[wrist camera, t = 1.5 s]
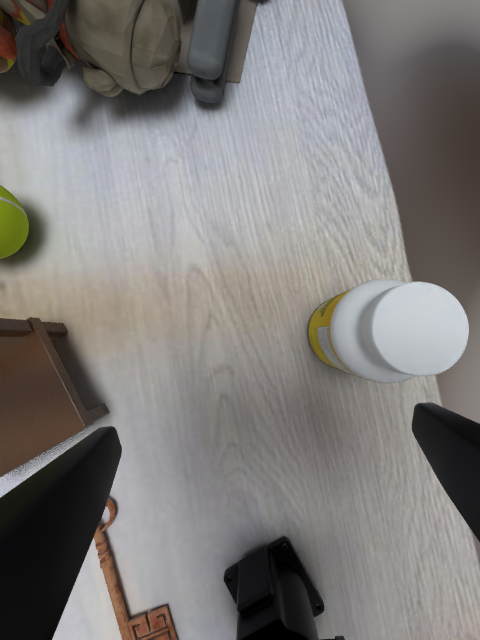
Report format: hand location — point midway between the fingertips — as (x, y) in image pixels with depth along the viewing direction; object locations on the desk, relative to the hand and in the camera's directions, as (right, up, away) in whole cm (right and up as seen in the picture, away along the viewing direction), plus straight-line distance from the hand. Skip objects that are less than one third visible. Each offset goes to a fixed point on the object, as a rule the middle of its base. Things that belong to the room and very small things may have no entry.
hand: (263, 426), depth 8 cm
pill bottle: (+9, +2, +17) cm, 19 cm away
